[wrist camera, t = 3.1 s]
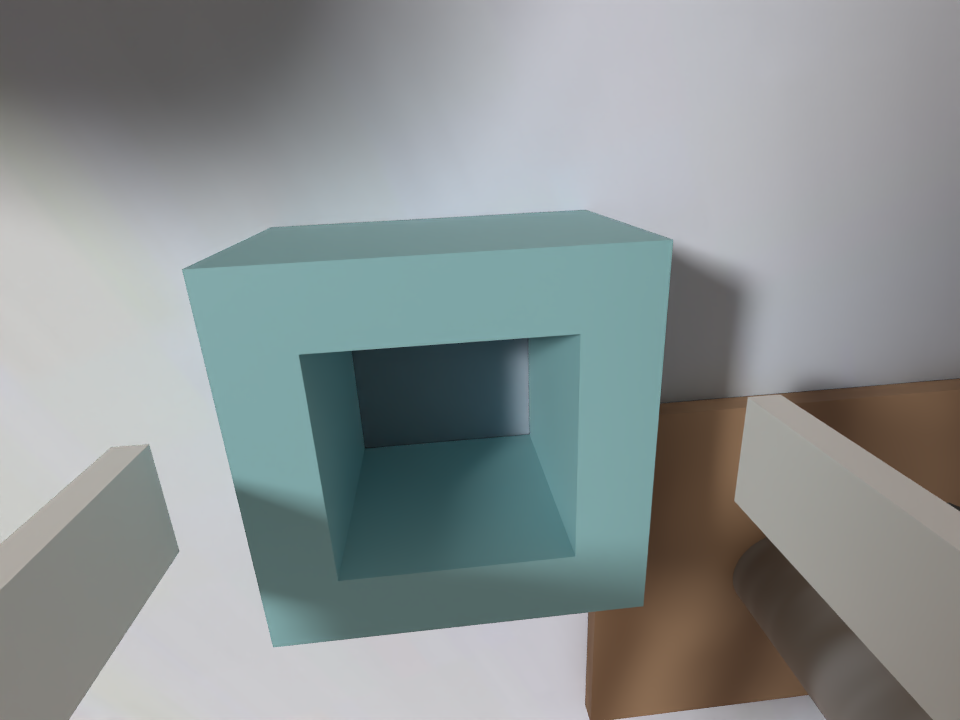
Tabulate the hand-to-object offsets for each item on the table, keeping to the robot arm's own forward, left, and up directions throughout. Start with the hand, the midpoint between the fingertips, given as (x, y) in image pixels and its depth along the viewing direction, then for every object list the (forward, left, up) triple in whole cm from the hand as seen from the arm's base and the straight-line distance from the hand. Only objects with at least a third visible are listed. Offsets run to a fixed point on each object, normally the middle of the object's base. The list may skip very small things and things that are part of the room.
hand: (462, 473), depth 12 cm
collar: (0, 0, -6) cm, 6 cm away
